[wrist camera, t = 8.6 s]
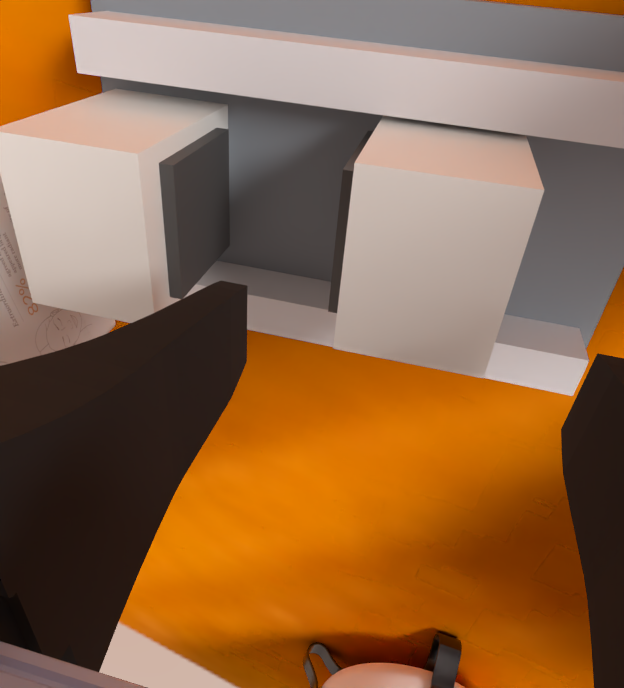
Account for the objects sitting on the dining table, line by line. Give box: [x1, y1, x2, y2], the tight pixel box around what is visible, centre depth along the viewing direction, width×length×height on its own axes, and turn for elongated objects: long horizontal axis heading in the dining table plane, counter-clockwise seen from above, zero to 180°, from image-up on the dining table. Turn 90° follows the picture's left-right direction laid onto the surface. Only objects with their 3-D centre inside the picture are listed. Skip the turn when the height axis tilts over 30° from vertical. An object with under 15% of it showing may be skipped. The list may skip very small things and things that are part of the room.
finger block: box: [328, 115, 544, 378], centre depth 15 cm, size 4×5×6 cm
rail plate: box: [0, 0, 624, 396], centre depth 17 cm, size 18×12×7 cm, turn 86°
